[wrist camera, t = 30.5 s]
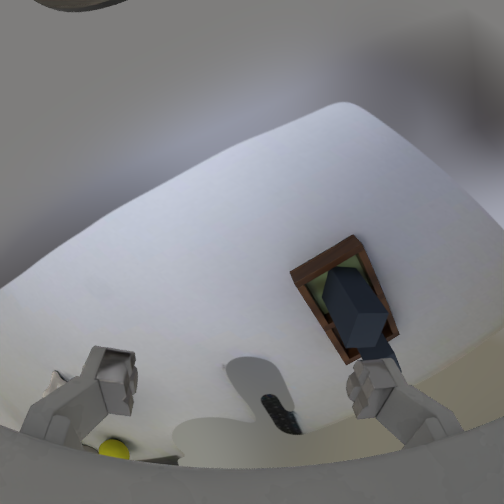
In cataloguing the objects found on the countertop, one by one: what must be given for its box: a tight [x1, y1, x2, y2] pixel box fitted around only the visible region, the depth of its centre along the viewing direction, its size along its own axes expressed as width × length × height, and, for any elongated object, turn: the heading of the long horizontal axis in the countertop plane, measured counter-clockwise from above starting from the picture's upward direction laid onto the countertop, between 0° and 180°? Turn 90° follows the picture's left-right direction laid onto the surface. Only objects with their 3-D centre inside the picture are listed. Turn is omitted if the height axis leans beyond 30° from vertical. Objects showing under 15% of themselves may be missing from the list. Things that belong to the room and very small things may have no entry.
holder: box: [290, 235, 400, 365], centre depth 45 cm, size 19×10×3 cm, turn 31°
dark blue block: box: [322, 266, 389, 348], centre depth 39 cm, size 5×4×11 cm
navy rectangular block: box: [357, 332, 402, 372], centre depth 43 cm, size 5×4×11 cm
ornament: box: [99, 439, 130, 460], centre depth 55 cm, size 7×7×10 cm
